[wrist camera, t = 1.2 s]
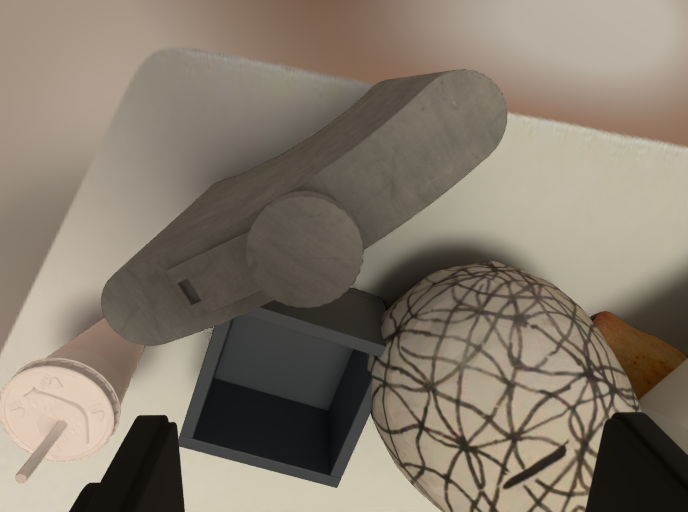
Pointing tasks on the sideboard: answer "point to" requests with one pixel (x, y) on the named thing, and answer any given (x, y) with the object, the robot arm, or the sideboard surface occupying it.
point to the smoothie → (69, 398)
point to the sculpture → (495, 391)
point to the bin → (288, 387)
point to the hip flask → (308, 209)
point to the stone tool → (638, 353)
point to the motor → (670, 405)
